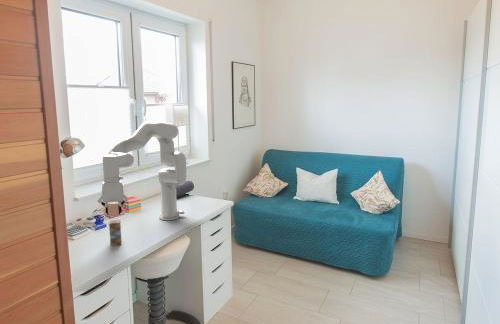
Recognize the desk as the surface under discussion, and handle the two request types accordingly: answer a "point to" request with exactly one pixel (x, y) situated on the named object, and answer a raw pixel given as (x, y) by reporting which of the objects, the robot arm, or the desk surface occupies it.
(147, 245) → the desk surface
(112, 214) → the terracotta cube
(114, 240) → the tower
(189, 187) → the bluetooth speaker
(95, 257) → the desk surface
